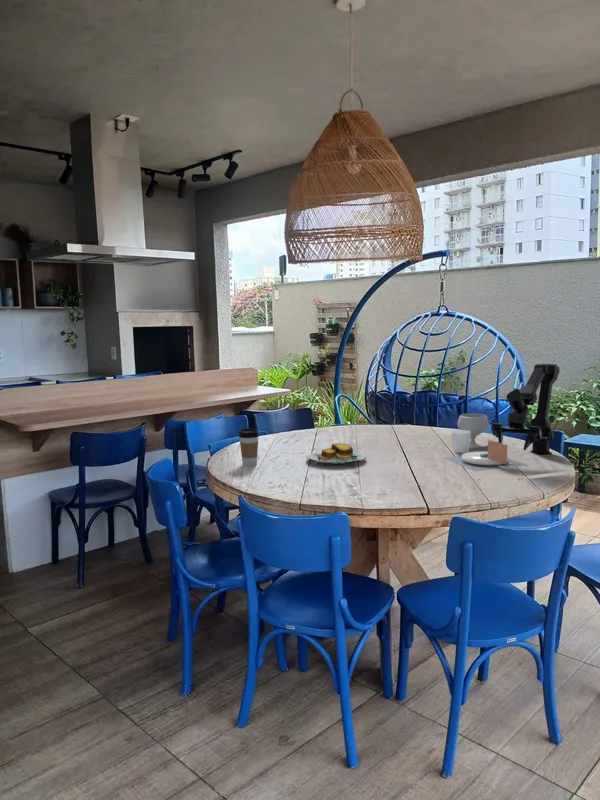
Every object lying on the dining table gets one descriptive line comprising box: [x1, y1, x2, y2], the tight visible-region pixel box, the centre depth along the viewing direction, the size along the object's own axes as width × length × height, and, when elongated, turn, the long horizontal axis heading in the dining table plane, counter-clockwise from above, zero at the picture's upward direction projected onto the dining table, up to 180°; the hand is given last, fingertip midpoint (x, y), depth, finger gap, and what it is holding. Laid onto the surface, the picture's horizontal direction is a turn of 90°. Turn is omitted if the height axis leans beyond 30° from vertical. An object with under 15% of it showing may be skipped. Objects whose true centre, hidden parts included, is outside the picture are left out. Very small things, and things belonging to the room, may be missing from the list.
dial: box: [461, 439, 508, 465], centre depth 252 cm, size 18×19×9 cm
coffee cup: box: [238, 427, 260, 468], centre depth 258 cm, size 8×8×15 cm
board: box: [443, 455, 528, 472], centre depth 253 cm, size 24×24×1 cm
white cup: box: [451, 429, 471, 454], centre depth 271 cm, size 8×8×10 cm
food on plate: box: [306, 442, 367, 465], centre depth 263 cm, size 26×25×7 cm
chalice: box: [456, 412, 490, 449], centre depth 283 cm, size 14×14×15 cm
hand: (512, 448), depth 242 cm, fingers open, 9 cm apart
